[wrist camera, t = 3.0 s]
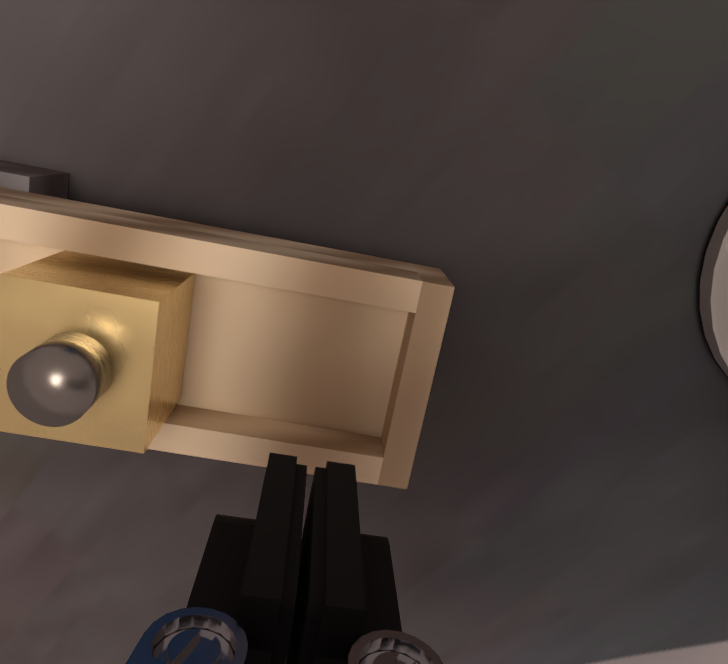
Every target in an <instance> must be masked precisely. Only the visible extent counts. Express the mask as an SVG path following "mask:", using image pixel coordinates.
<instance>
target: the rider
mask: <svg viewBox="0 0 728 664" xmlns="http://www.w3.org/2000/svg"><path fill="white" fill-rule="evenodd" d="M194 282H195V273H190V272H184V271H178V270H173V269H167V268H162V267H156V266H151V265H145V264H139V263H134V262H128V261H123V260H117V259H112V258H106V257H100V256H95V255H89V254H84V253H78V252H73V251H67V250H65V251H62V252H59V253H56V254H54V255H51V256H48V257H45V258H43V259H40V260H37V261H34V262H32V263H29V264H26V265H23V266H21V267H18V268H15V269H12V270H10V271H7V272H4V273H1V274H0V431H2V432H9V433H15V434H22V435H28V436H34V437H41V438H47V439H54V440H60V441H67V442H73V443H80V444H86V445H92V446H99V447H105V448H112V449H118V450H125V451H131V452H138V453H145V451H146V450H147V448H148V447H149V445H150V444H151V442H152V441H153V439H154V438H155V436H156V435H157V433H158V432H159V430H160V429H161V427H162V426H163V424H164V423H165V421H166V419H167V418H168V416H169V415H170V413H171V412H172V410H173V409H174V407H175V406H176V404H177V403H178V401H179V400H180V398H181V394H182V385H183V377H184V368H185V359H186V351H187V342H188V333H189V325H190V316H191V308H192V299H193V290H194Z"/></svg>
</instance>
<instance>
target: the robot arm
mask: <svg viewBox="0 0 728 664" xmlns="http://www.w3.org/2000/svg"><path fill="white" fill-rule="evenodd" d="M700 313H701V319H702V324H703V329H704V334H705V337H706V340H707V342H708V344H709V347H710V349H711V351H712V354H713V356H714V358H715V360H716V361H717V363H718V364H719V365H720V367H721V368H722V370H723V371H724V372H725V374H726V375H727V376H728V206H727V207H726V209H725V210H724V212H723V214H722V215H721V217H720V219H719V220H718V223H717V225H716V228H715V230H714V233H713V235H712V238H711V240H710V243H709V245H708V248H707V250H706V254H705V259H704V264H703V269H702V274H701V279H700ZM306 473H307V465H301V464H297V456H291V455H284V454H277V453H270V454H269V459H268V464H267V469H266V474H265V478H264V483H263V488H262V493H261V498H260V503H259V508H258V513H257V517H256V520H255V519H248V518H241V517H233V516H226V515H218V514H217V515H216V517H215V520H214V523H213V526H212V529H211V532H210V535H209V538H208V542H207V545H206V548H205V551H204V554H203V557H202V560H201V564H200V567H199V570H198V573H197V576H196V579H195V582H194V586H193V589H192V592H191V595H190V598H189V601H188V605H187V608H183V609H179V610H176V611H173V612H170V613H167V614H165V615H164V616H162V617H161V618H159V619H158V620H156V621H154V622H153V623H152V624H151V626H150V627H149V628H148V629H147V630H146V631H145V633H144V634H143V636H142V637H141V639H140V641H139V642H138V644H137V646H136V647H135V649H134V651H133V652H132V654H131V656H130V657H129V659H128V661H127V662H126V664H443V663H442V661H441V659H440V657H439V656H438V655H437V654H436V653H435V652H434V651H433V650H432V649H431V648H430V647H429V646H428V645H427V644H426V643H424V642H423V641H421V640H419V639H418V638H416V637H414V636H412V635H409V634H406V633H403V632H402V629H401V622H400V615H399V608H398V601H397V594H396V587H395V580H394V573H393V567H392V560H391V553H390V546H389V541H388V539H387V538H386V537H380V536H373V535H366V534H360V524H359V510H358V497H357V483H356V469H355V465H352V464H345V463H338V462H332V461H327V464H326V468H321V467H315V471H314V476H313V481H312V487H311V492H310V497H309V503H308V508H307V513H306V519H305V524H304V529H303V535H302V524H303V511H304V499H305V486H306ZM301 537H302V540H301Z"/></svg>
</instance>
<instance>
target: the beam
mask: <svg viewBox="0 0 728 664" xmlns="http://www.w3.org/2000/svg"><path fill="white" fill-rule="evenodd" d="M68 183H69V173H65V172H60V171H54V170H49V169H44V168H38V167H33V166H28V165H23V164H17V163H12V162H7V161H1V160H0V274H1V273H4V272H7V271H10V270H12V269H15V268H18V267H21V266H23V265H26V264H29V263H32V262H34V261H37V260H40V259H43V258H45V257H48V256H51V255H54V254H56V253H59V252H62V251H65V250H67V251H73V252H78V253H84V254H89V255H95V256H100V257H106V258H112V259H117V260H123V261H128V262H134V263H139V264H145V265H151V266H156V267H162V268H167V269H173V270H178V271H184V272H190V273H195V282H194V290H193V299H192V308H191V316H190V325H189V333H188V342H187V351H186V359H185V368H184V377H183V385H182V394H181V398H180V400H179V401H178V403H177V404H176V406H175V407H174V409H173V410H172V412H171V413H170V415H169V416H168V418H167V419H166V421H165V423H164V424H163V426H162V427H161V429H160V430H159V432H158V433H157V435H156V436H155V438H154V439H153V441H152V442H151V444H150V445H149V447H148V448H147V449H152V450H158V451H164V452H171V453H177V454H184V455H190V456H196V457H203V458H209V459H216V460H222V461H229V462H235V463H241V464H248V465H254V466H261V467H267V464H268V459H269V454H270V453H277V454H284V455H291V456H297V464H301V465H307V473H306V474H312V475H314V471H315V467H321V468H326V464H327V461H332V462H338V463H345V464H352V465H355V469H356V481H357V482H363V483H370V484H376V485H383V486H389V487H395V488H402V489H407V486H408V482H409V478H410V474H411V470H412V465H413V461H414V457H415V453H416V449H417V444H418V440H419V436H420V432H421V428H422V423H423V419H424V415H425V411H426V407H427V402H428V398H429V394H430V390H431V386H432V381H433V377H434V373H435V369H436V365H437V360H438V356H439V352H440V348H441V344H442V339H443V335H444V331H445V327H446V323H447V318H448V314H449V310H450V306H451V302H452V297H453V293H454V289H455V287H454V286H453V284H452V283H451V282H450V280H449V279H448V278H447V277H446V275H445V274H444V273H443V271H442V270H441V269H439V268H434V267H428V266H423V265H418V264H412V263H407V262H402V261H396V260H391V259H385V258H380V257H375V256H369V255H364V254H359V253H353V252H348V251H342V250H337V249H332V248H326V247H321V246H316V245H310V244H305V243H299V242H294V241H289V240H283V239H278V238H273V237H267V236H262V235H256V234H251V233H246V232H240V231H235V230H230V229H224V228H219V227H213V226H208V225H203V224H197V223H192V222H186V221H181V220H176V219H170V218H165V217H160V216H154V215H149V214H143V213H138V212H133V211H127V210H122V209H117V208H111V207H106V206H100V205H95V204H90V203H84V202H79V201H74V200H68Z"/></svg>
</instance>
